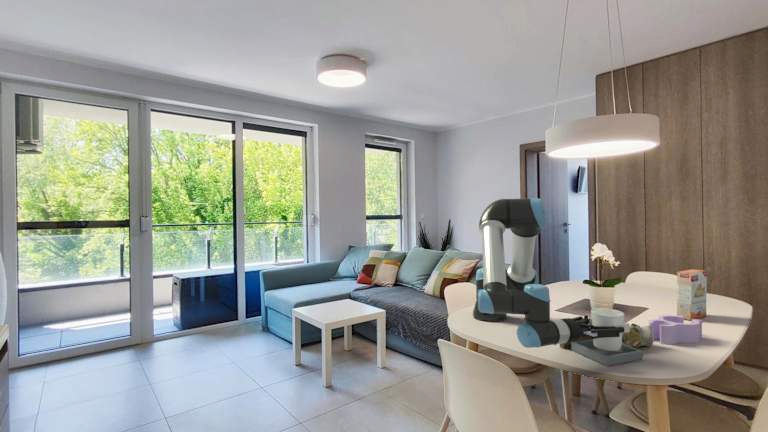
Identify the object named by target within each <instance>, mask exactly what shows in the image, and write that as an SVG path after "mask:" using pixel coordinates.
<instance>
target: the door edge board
mask: <svg viewBox="0 0 768 432" xmlns="http://www.w3.org/2000/svg"><path fill="white" fill-rule="evenodd" d="M589 328H590V327H589ZM589 339H592V338H591V336H580V338H579V339H578V340H577V341H582V340H589ZM575 342H576V341H575ZM559 348H561V349H563V350H565V349H571V342H569V343H561V344H559Z"/></svg>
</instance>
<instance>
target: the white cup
mask: <svg viewBox="0 0 768 432" xmlns="http://www.w3.org/2000/svg"><path fill="white" fill-rule="evenodd" d="M590 312H591V318H592V325H593V326H612V325H620V324H625V323H624V321H625V312H623V311H621V310H619V309H615V308H606V307H593V308H591V310H590ZM622 335H623V333H620V337H607V338H596V339H593V344H594V346H595V347H597V348H599V349H603V350H607V351H618V350H621V347H622V344H623V343H622Z"/></svg>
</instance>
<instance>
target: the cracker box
mask: <svg viewBox="0 0 768 432" xmlns="http://www.w3.org/2000/svg"><path fill="white" fill-rule="evenodd" d="M707 271H708V270H703V269H696V268H695V269H693V268H691V269H686V270H680V271H677V273H676V275H677V277H676V278H677V279H676V285H677V286H676V287H677V288H676V289H677V290H676V292H677V293H676V294H677V295H676V316H679V315H682V316H684V320H686V321H691V319H698V320H699V319H701V318H704V316H705V317H707V285H708V284H707V275H708V274H707Z"/></svg>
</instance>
